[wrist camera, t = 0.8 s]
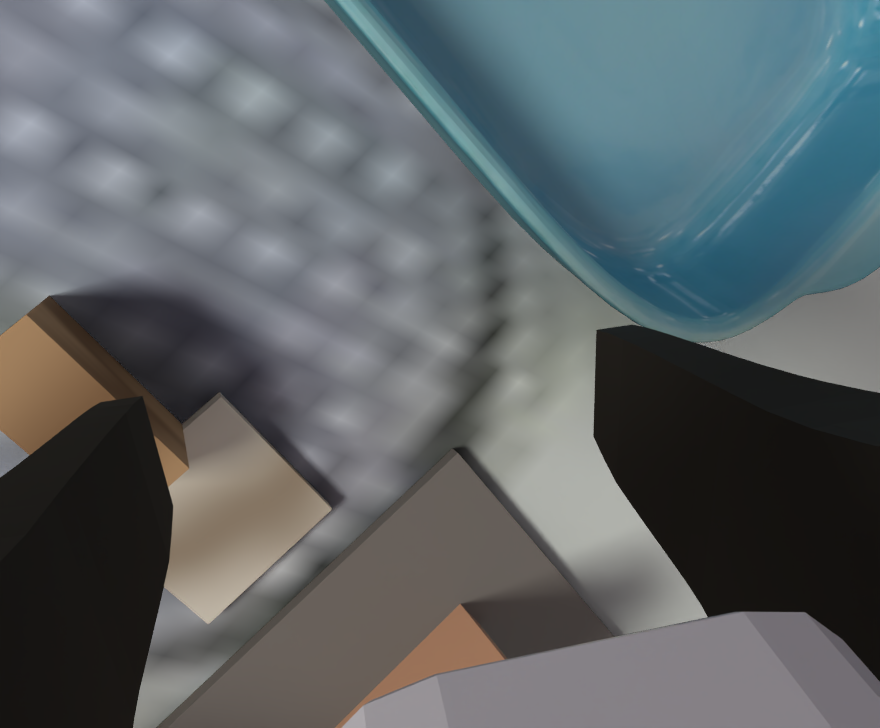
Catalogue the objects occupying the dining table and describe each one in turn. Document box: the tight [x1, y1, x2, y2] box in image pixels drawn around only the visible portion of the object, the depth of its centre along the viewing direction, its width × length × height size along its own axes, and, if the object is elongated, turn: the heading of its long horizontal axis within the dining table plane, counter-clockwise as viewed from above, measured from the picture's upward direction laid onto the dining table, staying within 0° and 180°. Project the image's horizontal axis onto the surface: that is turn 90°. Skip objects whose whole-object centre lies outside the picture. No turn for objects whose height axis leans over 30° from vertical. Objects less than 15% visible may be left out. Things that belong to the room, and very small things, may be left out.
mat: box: [157, 449, 614, 728], centre depth 32 cm, size 16×18×1 cm
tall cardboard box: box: [0, 296, 332, 624], centre depth 24 cm, size 12×6×5 cm, turn 39°
